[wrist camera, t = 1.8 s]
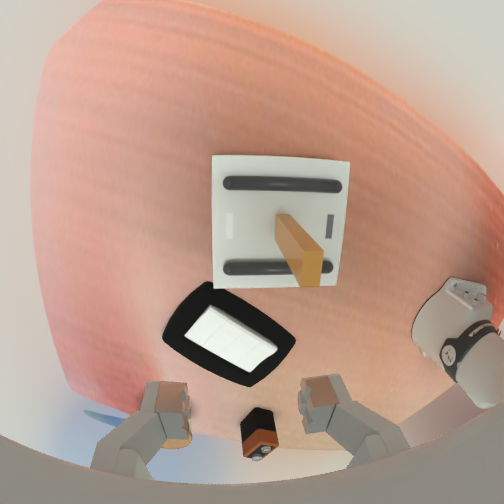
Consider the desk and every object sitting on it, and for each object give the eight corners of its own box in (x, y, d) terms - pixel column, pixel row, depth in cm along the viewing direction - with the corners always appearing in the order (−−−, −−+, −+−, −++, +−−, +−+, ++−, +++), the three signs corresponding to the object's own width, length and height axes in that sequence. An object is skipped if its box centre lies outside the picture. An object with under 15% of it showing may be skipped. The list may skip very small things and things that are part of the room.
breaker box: (334, 159, 36) (355, 163, 30) (324, 270, 41) (340, 290, 35) (213, 154, 34) (211, 155, 28) (214, 271, 40) (213, 294, 34)
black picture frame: (306, 343, 44) (251, 396, 46) (300, 334, 47) (249, 385, 49) (205, 276, 38) (153, 344, 40) (205, 269, 41) (155, 334, 43)
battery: (239, 423, 53) (242, 461, 43) (255, 406, 51) (260, 446, 42) (256, 427, 54) (262, 463, 45) (273, 411, 52) (281, 449, 43)
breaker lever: (289, 214, 32) (323, 250, 21) (288, 239, 33) (319, 286, 22) (275, 214, 32) (303, 250, 21) (274, 239, 33) (300, 287, 22)
